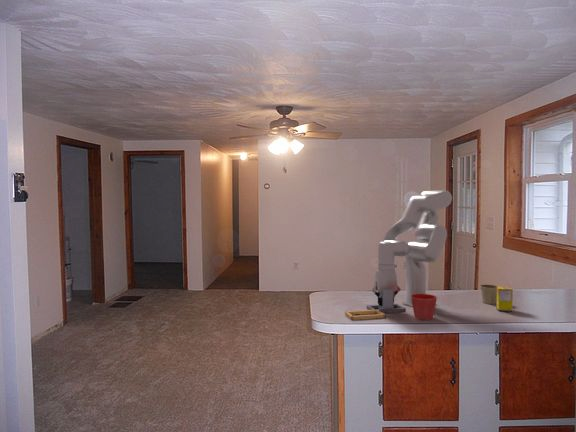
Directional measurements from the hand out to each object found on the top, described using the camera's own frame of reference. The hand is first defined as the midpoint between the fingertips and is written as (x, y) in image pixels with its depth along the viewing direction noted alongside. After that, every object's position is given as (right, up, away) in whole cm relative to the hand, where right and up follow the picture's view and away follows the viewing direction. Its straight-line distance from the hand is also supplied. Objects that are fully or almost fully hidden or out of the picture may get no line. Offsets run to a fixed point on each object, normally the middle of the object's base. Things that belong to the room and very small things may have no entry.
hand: (385, 304), depth 190 cm
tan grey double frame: (-6, -3, -5) cm, 8 cm away
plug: (0, -3, 0) cm, 3 cm away
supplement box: (+56, -3, -1) cm, 56 cm away
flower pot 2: (+56, -2, +14) cm, 58 cm away
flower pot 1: (+14, -3, -12) cm, 19 cm away
